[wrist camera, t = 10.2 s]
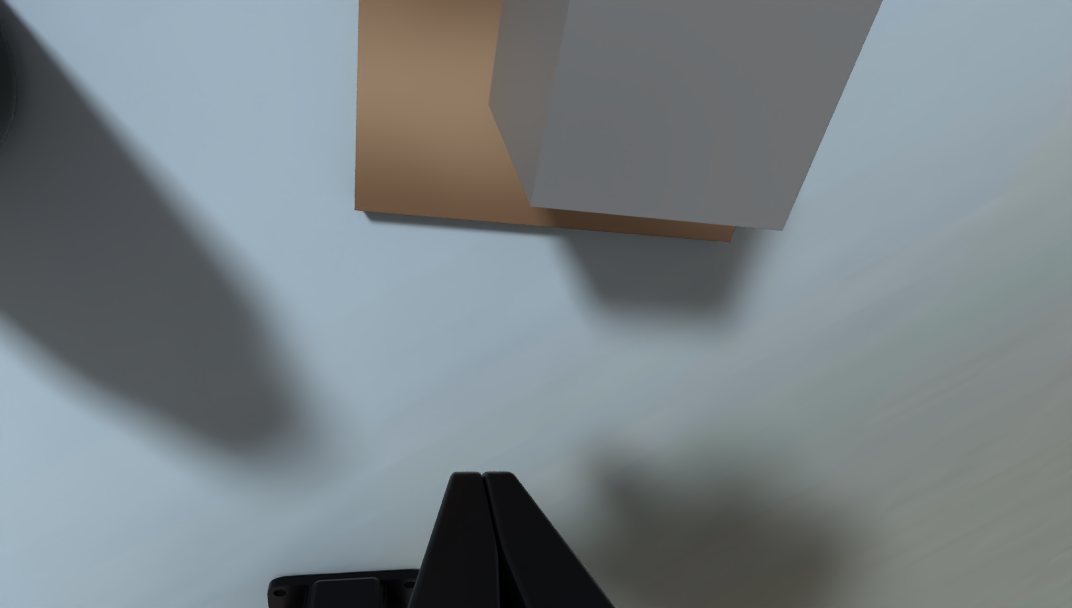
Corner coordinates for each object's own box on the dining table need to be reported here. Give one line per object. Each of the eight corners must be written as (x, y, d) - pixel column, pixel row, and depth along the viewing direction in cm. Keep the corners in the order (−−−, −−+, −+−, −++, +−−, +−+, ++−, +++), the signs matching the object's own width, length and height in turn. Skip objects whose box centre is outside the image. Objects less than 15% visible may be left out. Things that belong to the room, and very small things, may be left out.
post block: (722, 233, 21) (813, 329, 16) (355, 201, 18) (339, 307, 13) (892, -219, 14) (1121, -274, 10) (369, -386, 11) (345, -579, 7)
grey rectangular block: (665, 128, 17) (782, 230, 12) (488, 104, 16) (530, 206, 11) (727, -81, 15) (912, -70, 9) (520, -130, 14) (598, -151, 8)
